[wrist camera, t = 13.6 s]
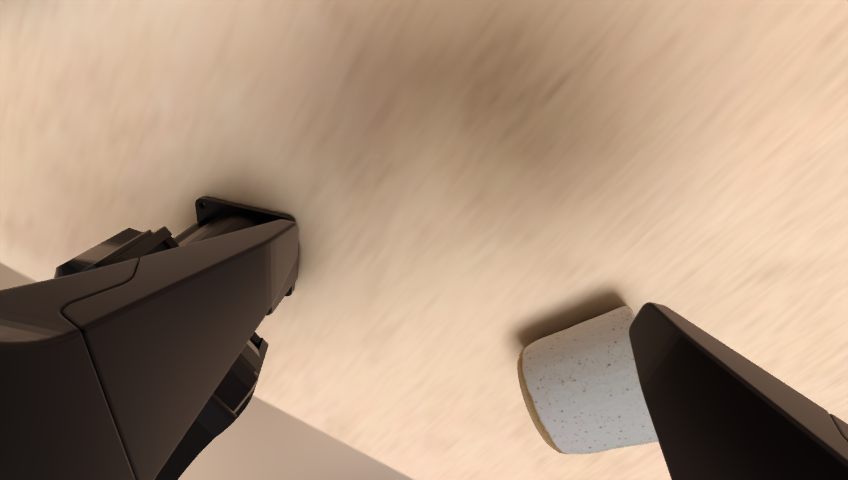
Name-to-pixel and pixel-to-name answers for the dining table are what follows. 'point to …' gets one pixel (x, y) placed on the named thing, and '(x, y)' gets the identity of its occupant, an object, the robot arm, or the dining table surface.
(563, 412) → the ceramic mug
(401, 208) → the dining table surface
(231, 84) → the dining table surface
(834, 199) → the dining table surface
